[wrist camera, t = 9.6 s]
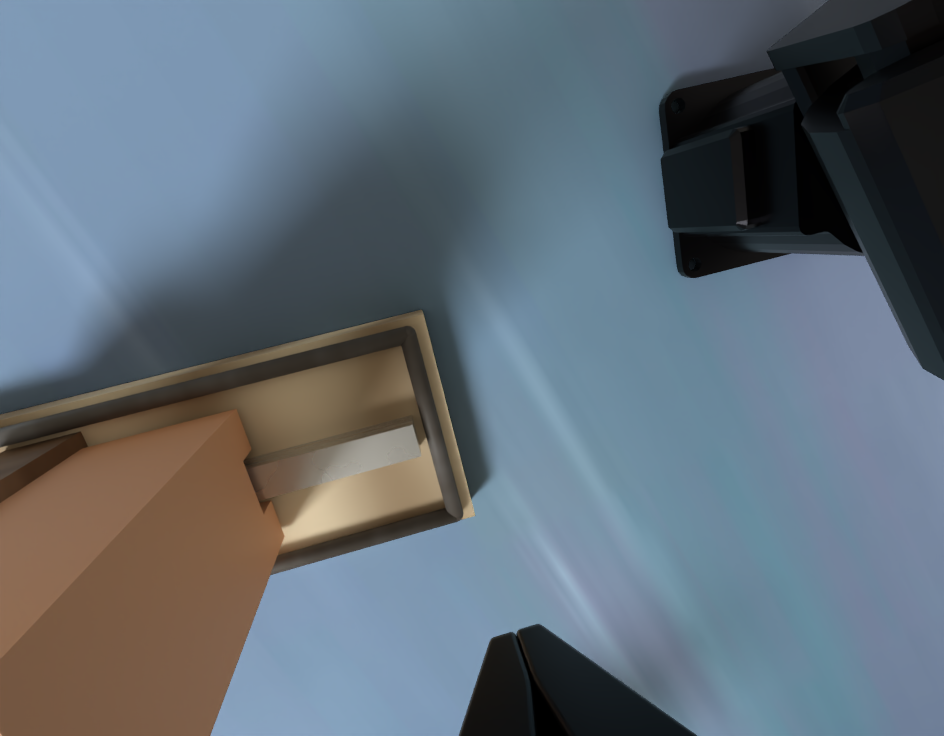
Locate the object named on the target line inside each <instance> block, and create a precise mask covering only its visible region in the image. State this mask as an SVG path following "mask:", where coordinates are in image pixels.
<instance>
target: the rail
mask: <svg viewBox="0 0 944 736" xmlns="http://www.w3.org/2000/svg"><path fill="white" fill-rule="evenodd" d="M417 457H421V448H420V443H419V439H418V436H417V432H416V429H415V425H414V421H413V418H412V415H410V416H406V417H402V418H399V419H395V420H391V421H387V422H384V423H380V424H376V425H372V426H369V427H365V428H361V429H357V430H354V431H350V432H346V433H342V434H338V435H335V436H331V437H327V438H323V439H320V440H316V441H312V442H308V443H305V444H301V445H297V446H293V447H290V448H286V449H282V450H278V451H275V452H271V453H267V454H263V455H260V456H256V457H252V458H248V459H245V460H244V461H243V462H244V465H245V467H246V470H247V472H248V475H249V478H250V480H251V483H252V485H253V488H254V491H255V493H256V496H257V498H258V501H260V500H264V499H267V498H271V497H275V496H278V495H282V494H286V493H289V492H293V491H297V490H300V489H304V488H308V487H311V486H315V485H319V484H322V483H326V482H330V481H333V480H337V479H341V478H344V477H348V476H351V475H355V474H359V473H362V472H366V471H370V470H373V469H377V468H381V467H384V466H388V465H392V464H395V463H399V462H403V461H406V460H410V459H414V458H417Z"/></svg>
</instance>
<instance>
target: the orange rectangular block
mask: <svg viewBox="0 0 944 736" xmlns="http://www.w3.org/2000/svg"><path fill="white" fill-rule="evenodd" d="M250 451H251V446H250V443H249V441H248V438H247V435H246V433H245V430H244V428H243V425H242V422H241V420H240V417H239V414H238V412H237V409H233V410H230V411H226V412H222V413H218V414H214V415H210V416H206V417H202V418H198V419H195V420H191V421H187V422H183V423H179V424H175V425H171V426H167V427H164V428H160V429H156V430H152V431H148V432H144V433H140V434H136V435H133V436H129V437H125V438H121V439H117V440H113V441H109V442H105V443H101V444H98V445H94V446H90V447H86V448H82V449H81V450H79V451H78V452H76V453H75V454H73V455H71V456H70V457H68V458H67V459H65V460H64V461H62V462H61V463H59V464H58V465H56V466H55V467H53V468H52V469H50V470H49V471H47V472H46V473H44V474H43V475H41V476H40V477H38V478H37V479H35V480H34V481H32V482H31V483H29V484H28V485H26V486H25V487H23V488H22V489H20V490H19V491H17V492H16V493H14V494H13V495H11V496H10V497H8V498H7V499H5V500H4V501H2V502H1V503H0V736H210V735H211V732H212V729H213V726H214V724H215V721H216V718H217V716H218V713H219V710H220V708H221V705H222V702H223V700H224V697H225V694H226V692H227V689H228V686H229V684H230V681H231V678H232V676H233V673H234V670H235V668H236V665H237V662H238V660H239V657H240V654H241V652H242V649H243V646H244V644H245V641H246V638H247V636H248V633H249V630H250V628H251V625H252V622H253V620H254V617H255V614H256V612H257V609H258V606H259V604H260V601H261V598H262V596H263V593H264V590H265V587H266V585H267V582H268V579H269V577H270V574H271V571H272V569H273V566H274V563H275V561H276V558H277V555H278V553H279V550H280V547H281V545H282V542H283V539H284V537H285V536H284V533H283V531H282V528H281V525H280V523H279V520H278V517H277V515H276V512H275V509H274V507H273V504H272V502H271V500H269V501H266V502H262V503H259V501H258V498H257V496H256V493H255V491H254V488H253V485H252V483H251V480H250V478H249V475H248V472H247V470H246V467H245V465H244V462H243V461H244V459H245V458H246V457H247V455H248V454H249V452H250Z"/></svg>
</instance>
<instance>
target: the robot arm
mask: <svg viewBox="0 0 944 736" xmlns="http://www.w3.org/2000/svg"><path fill="white" fill-rule="evenodd" d="M767 53H768V55H769V57H770V59H771V61H772V64H773V66H774V68H773V69H769V70H764V71H760V72H755V73H751V74H746V75H742V76H737V77H733V78H728V79H724V80H719V81H715V82H710V83H706V84H701V85H697V86H692V87H688V88H683V89H679V90H676V91H673V92H671V93H669V94H668V95H666V96H665V97H664V98H663V99H662V100H661V103H660V105H659V116H660V124H661V133H662V142H663V151H664V154H663V156H662V158H661V168H662V176H663V185H664V193H665V202H666V211H667V219H668V227H669V228H670V229H671V230H672V231H673V238H674V247H675V255H676V264H677V269H678V272H679V273H680V274H681V275H682V276H684V277H688V278H697V277H701V276H705V275H709V274H713V273H717V272H721V271H725V270H729V269H732V268H736V267H740V266H744V265H748V264H752V263H756V262H760V261H764V260H768V259H772V258H776V257H779V256H783V255H787V254H791V253H796V254H826V255H855V256H865V258H866V260H867V262H868V264H869V266H870V268H871V270H872V272H873V274H874V276H875V278H876V280H877V282H878V284H879V286H880V289H881V291H882V293H883V295H884V297H885V299H886V301H887V303H888V305H889V307H890V309H891V311H892V313H893V315H894V317H895V319H896V322H897V324H898V326H899V328H900V330H901V332H902V334H903V336H904V338H905V340H906V342H907V344H908V346H909V348H910V350H911V351H912V353H913V354H914V356H915V357H916V359H917V360H918V362H919V363H920V365H921V366H922V368H923V369H925V370H926V371H928V372H930V373H932V374H933V375H935V376H937V377H939V378H941V379H942V380H944V0H829V1H828V2H826V3H825V4H824V5H823V6H821V7H820V8H819V9H818V10H817V11H815V12H814V13H813V14H812V15H810V16H809V17H808V18H807V19H805V20H804V21H803V22H802V23H800V24H799V25H798V26H797V27H795V28H794V29H793V30H792V31H790V32H789V33H788V34H787V35H785V36H784V37H783V38H782V39H780V40H779V41H778V42H777V43H775V44H774V45H773V46H772V47H770V48H769V49H768V50H767ZM673 101H676V102H677V103H678V105H679V112H678V113H677V114H676V113H674V112H673V111H672V108H671V106H672V102H673ZM691 259H694V260H695V267H694V268H693V269H692V270H690V269H689V262H690V260H691ZM516 635H517V636H516ZM459 736H697V735H696V734H694V733H693V732H691V731H690V730H689V729H687V728H686V727H684V726H683V725H682V724H680V723H679V722H677V721H676V720H675V719H673V718H672V717H670V716H669V715H668V714H666V713H665V712H663V711H662V710H660V709H659V708H658V707H656V706H655V705H653V704H652V703H651V702H649V701H648V700H646V699H645V698H644V697H642V696H641V695H639V694H638V693H637V692H635V691H634V690H632V689H631V688H629V687H628V686H627V685H625V684H624V683H622V682H621V681H620V680H618V679H617V678H615V677H614V676H613V675H611V674H610V673H608V672H607V671H606V670H604V669H603V668H601V667H600V666H598V665H597V664H596V663H594V662H593V661H591V660H590V659H589V658H587V657H586V656H584V655H583V654H582V653H580V652H579V651H577V650H576V649H575V648H573V647H572V646H570V645H569V644H568V643H566V642H565V641H563V640H562V639H560V638H559V637H558V636H556V635H555V634H553V633H552V632H551V631H549V630H548V629H546V628H545V627H544V626H542V625H540V624H535V625H532V626H529V627H526V628H522V629H519V630H518V631H517V634H515V633H513V632H509V633H506V634H503V635H500V636H496V637H493V638H492V639H491V640H490V642H489V645H488V648H487V651H486V654H485V657H484V660H483V663H482V666H481V669H480V672H479V675H478V678H477V682H476V685H475V688H474V691H473V694H472V697H471V700H470V703H469V706H468V709H467V712H466V715H465V718H464V721H463V724H462V727H461V730H460V733H459Z"/></svg>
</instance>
